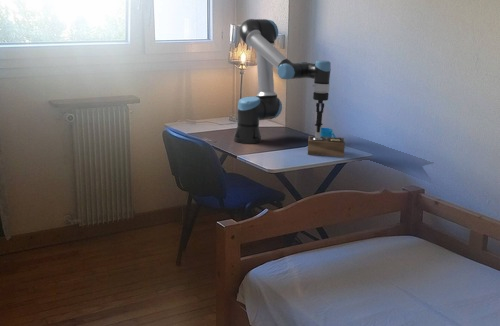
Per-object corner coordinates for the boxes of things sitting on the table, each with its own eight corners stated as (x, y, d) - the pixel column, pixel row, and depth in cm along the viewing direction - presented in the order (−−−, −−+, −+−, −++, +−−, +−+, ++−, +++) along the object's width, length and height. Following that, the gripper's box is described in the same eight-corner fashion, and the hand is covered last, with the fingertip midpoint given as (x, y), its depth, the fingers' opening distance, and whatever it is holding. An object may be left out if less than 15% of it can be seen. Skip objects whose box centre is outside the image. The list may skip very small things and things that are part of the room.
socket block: (307, 148, 298) (308, 135, 296) (342, 151, 296) (343, 137, 294) (307, 154, 286) (308, 140, 285) (343, 156, 285) (344, 142, 283)
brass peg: (329, 151, 294) (330, 138, 292) (338, 151, 293) (340, 138, 291) (329, 153, 289) (330, 140, 287) (339, 154, 288) (340, 141, 286)
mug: (313, 143, 311) (314, 128, 309) (323, 141, 317) (324, 127, 314) (330, 147, 303) (331, 132, 301) (339, 145, 308) (341, 131, 306)
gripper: (313, 89, 290) (310, 134, 296) (313, 93, 278) (310, 140, 284) (328, 90, 289) (324, 135, 296) (329, 94, 277) (325, 141, 283)
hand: (317, 138), depth 290 cm, fingers closed
